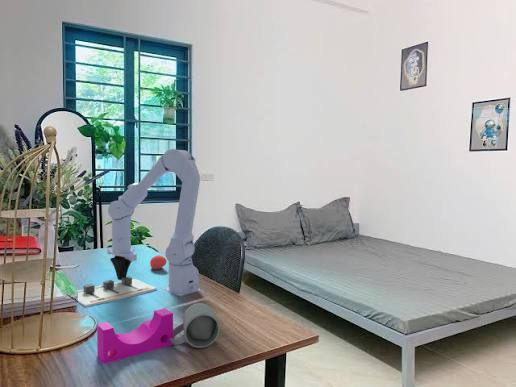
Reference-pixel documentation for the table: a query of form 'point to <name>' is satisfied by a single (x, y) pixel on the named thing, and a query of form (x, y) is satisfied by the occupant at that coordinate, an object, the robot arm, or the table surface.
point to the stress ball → (157, 262)
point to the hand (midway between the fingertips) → (121, 279)
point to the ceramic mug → (197, 327)
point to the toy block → (135, 338)
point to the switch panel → (113, 293)
